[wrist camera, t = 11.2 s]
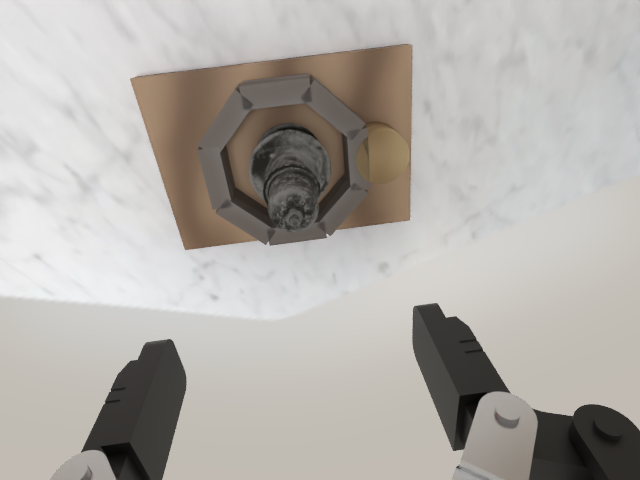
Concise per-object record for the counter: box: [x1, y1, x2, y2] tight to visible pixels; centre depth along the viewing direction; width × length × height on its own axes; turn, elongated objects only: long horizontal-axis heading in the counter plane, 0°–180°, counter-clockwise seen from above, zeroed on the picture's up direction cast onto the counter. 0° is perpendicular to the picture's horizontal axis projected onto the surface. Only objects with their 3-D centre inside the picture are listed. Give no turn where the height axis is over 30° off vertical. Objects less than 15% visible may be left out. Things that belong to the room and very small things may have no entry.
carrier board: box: [130, 44, 412, 250], centre depth 30 cm, size 20×14×4 cm
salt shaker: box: [248, 123, 331, 233], centre depth 25 cm, size 6×6×12 cm
